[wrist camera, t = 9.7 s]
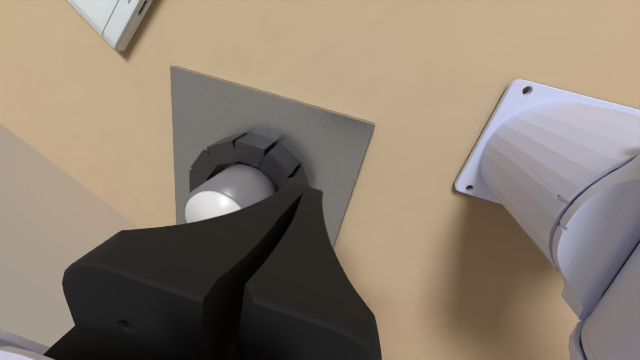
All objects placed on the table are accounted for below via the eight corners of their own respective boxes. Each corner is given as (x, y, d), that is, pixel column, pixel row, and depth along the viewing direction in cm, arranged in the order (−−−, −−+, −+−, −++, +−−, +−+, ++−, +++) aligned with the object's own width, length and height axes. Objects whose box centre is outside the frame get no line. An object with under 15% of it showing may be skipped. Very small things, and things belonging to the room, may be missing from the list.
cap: (289, 166, 21) (256, 203, 15) (278, 215, 23) (246, 263, 18) (233, 148, 21) (181, 177, 16) (227, 198, 24) (180, 239, 18)
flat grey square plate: (374, 123, 19) (374, 133, 16) (323, 273, 26) (317, 298, 23) (175, 66, 20) (144, 67, 17) (180, 225, 27) (159, 243, 25)
